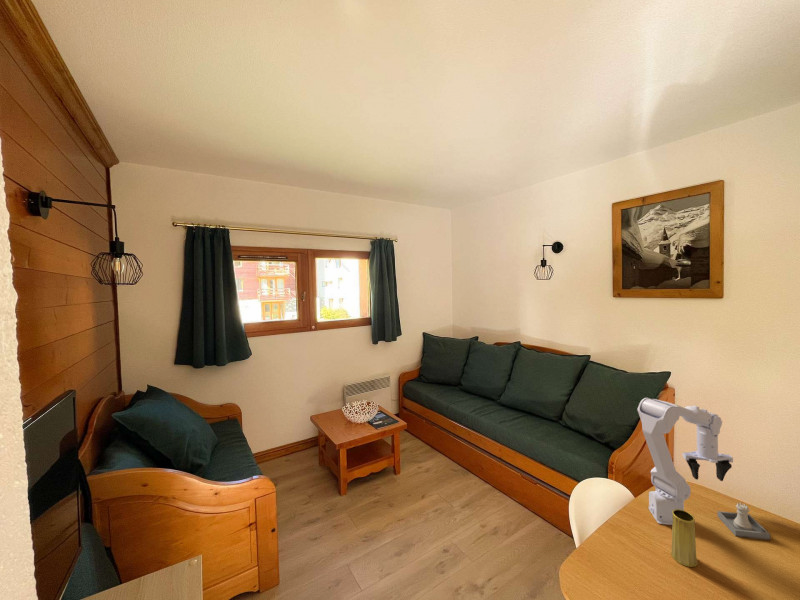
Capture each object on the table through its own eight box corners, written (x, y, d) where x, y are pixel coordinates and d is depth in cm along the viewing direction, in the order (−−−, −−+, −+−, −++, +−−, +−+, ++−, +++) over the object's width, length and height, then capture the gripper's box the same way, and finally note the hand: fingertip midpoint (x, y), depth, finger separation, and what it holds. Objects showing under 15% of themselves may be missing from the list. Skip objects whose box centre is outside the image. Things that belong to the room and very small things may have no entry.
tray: (735, 536, 108) (735, 530, 108) (717, 516, 116) (717, 510, 116) (770, 540, 105) (770, 534, 105) (749, 519, 114) (749, 514, 114)
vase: (691, 552, 103) (690, 509, 102) (701, 569, 97) (701, 524, 96) (667, 548, 105) (666, 506, 104) (676, 565, 99) (675, 520, 98)
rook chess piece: (756, 531, 108) (756, 508, 108) (744, 534, 108) (744, 511, 107) (740, 521, 113) (740, 499, 112) (729, 524, 112) (729, 502, 112)
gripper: (690, 448, 119) (691, 483, 120) (739, 450, 115) (739, 487, 116) (679, 438, 125) (679, 472, 126) (724, 440, 122) (725, 475, 123)
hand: (707, 478), depth 122 cm, fingers open, 7 cm apart
